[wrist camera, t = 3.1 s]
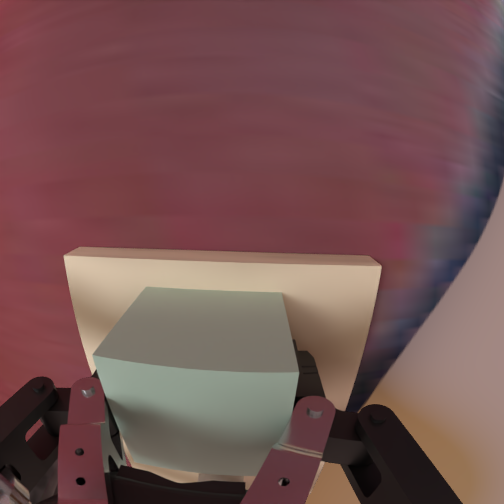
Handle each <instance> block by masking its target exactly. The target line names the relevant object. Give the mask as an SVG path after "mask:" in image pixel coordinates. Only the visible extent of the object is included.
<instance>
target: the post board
mask: <svg viewBox="0 0 504 504" xmlns="http://www.w3.org/2000/svg"><path fill="white" fill-rule="evenodd" d="M64 260H65V267H66V273H67V279H68V284H69V289H70V294H71V299H72V304H73V308H74V313H75V317H76V321H77V325H78V329H79V333H80V336H81V340H82V344H83V347H84V350H85V354H86V357H87V360H88V363H89V366H90V369H91V372H92V375H93V373H94V372H95V370H96V366H95V363H94V360H93V356H92V354H93V353H94V352H95V350H96V349H97V348H98V346H99V345H100V344H101V342H102V341H103V340H104V339H105V337H106V336H107V335H108V333H109V332H110V331H111V330H112V328H113V327H114V326H115V324H116V323H117V322H118V321H119V319H120V318H121V317H122V316H123V314H124V313H125V312H126V311H127V309H128V308H129V307H130V306H131V304H132V303H133V302H134V301H135V300H136V298H137V297H138V296H139V295H140V293H141V292H142V291H143V290H144V289H145V287H162V288H179V289H199V290H222V291H251V292H282V296H283V301H284V305H285V309H286V314H287V318H288V323H289V327H290V332H291V336H292V339H295V341H296V345H297V349H298V351H308V352H309V353H310V354H311V355H312V356H313V357H314V359H315V362H316V367H317V369H318V374H319V376H320V379H321V383H322V386H323V389H324V393H325V396H326V399H328V400H330V401H331V402H332V403H333V405H334V406H335V408H336V409H339V410H341V411H345V410H346V407H347V404H348V401H349V398H350V395H351V392H352V389H353V385H354V382H355V379H356V376H357V372H358V369H359V365H360V362H361V358H362V355H363V351H364V347H365V343H366V339H367V335H368V331H369V327H370V323H371V319H372V314H373V310H374V305H375V300H376V295H377V290H378V285H379V280H380V274H381V268H382V266H381V265H380V264H379V263H377V262H376V261H375V260H374V259H373V258H371V257H370V256H365V255H332V254H300V253H267V252H235V251H202V250H170V249H137V248H105V247H78V248H77V249H75V250H73V251H71V252H69V253H67V254H66V255H64ZM122 438H123V437H122ZM123 445H124V452H125V454H126V456H127V457H128V459H129V461H130V463H131V465H132V467H133V468H137V469H141V470H146V471H150V472H152V473H154V474H157V475H159V476H161V477H164V478H166V479H169V480H172V481H174V482H177V483H190V482H202V481H211V480H215V481H230V482H246V485H245V489H246V490H249V488H250V486H251V484H252V483H253V481H254V479H255V477H256V476H232V475H216V474H205V473H195V472H187V471H180V470H173V469H167V468H161V467H156V466H151V465H146V464H141V463H136V462H134V460H133V458H132V456H131V454H130V452H129V450H128V448H127V446H126V444H125V441H124V439H123ZM324 463H325V462H323V461H321V462H320V465H319V468H318V471H317V473H316V476H315V479H314V482H313V484H312V487H311V489H310V492H309V494H311V492H312V489H313V487H314V485H315V483H316V481H317V479H318V477H319V474H320V472H321V470H322V468H323V466H324Z"/></svg>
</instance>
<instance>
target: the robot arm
mask: <svg viewBox="0 0 504 504" xmlns="http://www.w3.org/2000/svg"><path fill="white" fill-rule="evenodd" d="M292 341H293V346H294V350H295V355H296V359H297V364H298V369H299V377H298V383H297V389H296V395H295V400H294V406H293V411H292V415H291V417H290V419H289V421H288V423H287V425H286V427H285V429H284V431H283V433H282V436H281V438H280V440H279V441H278V443H275V444H274V445H273V447H272V448H271V450H270V452H269V454H268V456H267V458H266V459H265V461H264V463H263V465H262V467H261V469H260V470H259V472H258V474H257V476H256V477H255V479H254V481H253V483H252V484H251V486H250V488H249V490H246V489H245V485H246V482H230V481H215V480H211V481H202V482H190V483H177V482H174V481H172V480H169V479H166V478H164V477H161V476H159V475H157V474H154V473H152V472H150V471H146V470H141V469H137V468H132V467H128V466H127V465H126V459H125V452H124V445H123V438H122V435H121V433H120V430H119V428H118V426H117V423H116V421H115V419H114V416H113V414H112V411H111V409H110V406H109V404H108V401H107V398H106V396H105V393H104V390H103V387H102V384H101V381H100V379H99V376H98V373H97V369H96V370H95V372H94V373H93V375H92V376H91V377H86V378H82V379H79V380H78V381H76V382H75V383H74V384H73V385H72V387H71V388H55V385H54V383H53V381H52V380H51V379H50V378H47V377H36V378H33V379H32V380H30V381H29V382H28V383H27V384H25V385H24V386H23V387H22V388H21V389H20V390H19V391H17V392H16V393H15V394H14V395H13V396H12V397H11V398H9V399H8V400H7V401H6V402H5V403H4V404H3V405H2V406H1V407H0V504H31V502H30V501H29V499H30V495H29V493H30V492H31V491H32V490H33V488H34V487H35V486H36V485H37V483H38V482H39V481H40V480H41V478H42V477H43V476H44V475H45V473H46V472H47V471H48V470H49V469H50V467H51V466H52V465H53V464H54V462H55V461H56V460H57V459H58V494H55V495H53V496H51V497H49V498H47V499H45V500H42V501H40V502H38V503H35V504H305V502H306V499H307V497H308V494H309V492H310V489H311V487H312V484H313V482H314V479H315V476H316V473H317V471H318V468H319V465H320V462H321V461H323V462H329V463H337V464H341V466H342V468H343V470H344V472H345V474H346V476H347V478H348V480H349V482H350V484H351V486H352V488H353V490H354V492H355V494H356V496H357V497H358V499H359V501H360V503H361V504H463V503H462V502H461V501H460V499H459V498H458V497H457V495H456V494H455V493H454V491H453V490H452V489H451V487H450V486H449V485H448V483H447V482H446V481H445V479H444V478H443V477H442V475H441V474H440V473H439V471H438V470H437V469H436V467H435V466H434V465H433V463H432V462H431V461H430V459H429V458H428V457H427V456H426V454H425V453H424V451H423V450H422V449H421V448H420V446H419V445H418V444H417V442H416V441H415V440H414V438H413V437H412V436H411V434H410V433H409V432H408V431H407V429H406V428H405V427H404V425H403V424H402V423H401V421H400V420H399V419H398V418H397V416H396V415H395V414H394V412H393V411H392V410H391V409H389V408H387V407H386V406H383V405H378V404H372V405H368V406H365V407H364V408H362V409H361V411H360V412H359V413H353V412H346V411H341V410H339V409H336V408H335V406H334V405H333V403H332V402H331V401H330V400H328V399H326V396H325V393H324V389H323V386H322V383H321V379H320V376H319V374H318V369H317V367H316V362H315V359H314V357H313V356H312V355H311V354H310V353H309V352H308V351H298V349H297V345H296V341H295V339H292ZM39 419H40V420H41V422H42V423H43V425H42V426H41V427H40V428H39V429H38V430H37V431H36V433H35V434H34V435H33V436H32V437H31V438H30V439H29V440H28V441H27V442H26V440H25V435H26V433H27V431H28V430H29V429H30V428H31V427H32V426H33V425H34V424H35V423H36V422H37V421H38V420H39Z"/></svg>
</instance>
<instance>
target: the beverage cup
mask: <svg viewBox="0 0 504 504" xmlns="http://www.w3.org/2000/svg"><path fill="white" fill-rule="evenodd" d="M55 494H58V459H57V460H56V461H55V462H54V464H53V465H52V466H51V467H50V469H49V470H48V471H47V472H46V473H45V475H44V476H43V477H42V478H41V480H40V481H39V482H38V483H37V485H36V486H35V487H34V488H33V490H32V491H31V492H30V493H29V495H30V499H29V501H30V502H31V504H35V503H38V502H40V501H42V500H45V499H47V498H49V497H51V496H53V495H55Z"/></svg>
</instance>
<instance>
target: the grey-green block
mask: <svg viewBox="0 0 504 504" xmlns="http://www.w3.org/2000/svg"><path fill="white" fill-rule="evenodd" d="M92 356H93V360H94V363H95V366H96V369H97V373H98V376H99V379H100V381H101V384H102V387H103V390H104V393H105V396H106V398H107V401H108V404H109V406H110V409H111V411H112V414H113V416H114V419H115V421H116V423H117V426H118V428H119V430H120V433H121V435H122V437H123V439H124V441H125V444H126V446H127V448H128V450H129V452H130V454H131V456H132V458H133V460H134V462H136V463H141V464H146V465H151V466H156V467H161V468H167V469H173V470H180V471H187V472H195V473H205V474H216V475H232V476H257V474H258V472H259V470H260V469H261V467H262V465H263V463H264V461H265V459H266V458H267V456H268V454H269V452H270V450H271V448H272V447H273V445H274V444H275V443H278V441H279V440H280V438H281V436H282V433H283V431H284V429H285V427H286V425H287V423H288V421H289V419H290V417H291V415H292V411H293V406H294V400H295V395H296V389H297V383H298V377H299V369H298V364H297V359H296V355H295V350H294V346H293V341H292V336H291V332H290V327H289V323H288V318H287V314H286V309H285V305H284V301H283V296H282V292H251V291H222V290H199V289H179V288H162V287H145V289H144V290H143V291H142V292H141V293H140V295H139V296H138V297H137V298H136V300H135V301H134V302H133V303H132V304H131V306H130V307H129V308H128V309H127V311H126V312H125V313H124V314H123V316H122V317H121V318H120V319H119V321H118V322H117V323H116V324H115V326H114V327H113V328H112V330H111V331H110V332H109V333H108V335H107V336H106V337H105V339H104V340H103V341H102V342H101V344H100V345H99V346H98V348H97V349H96V350H95V352H94V353H93V354H92Z"/></svg>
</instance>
